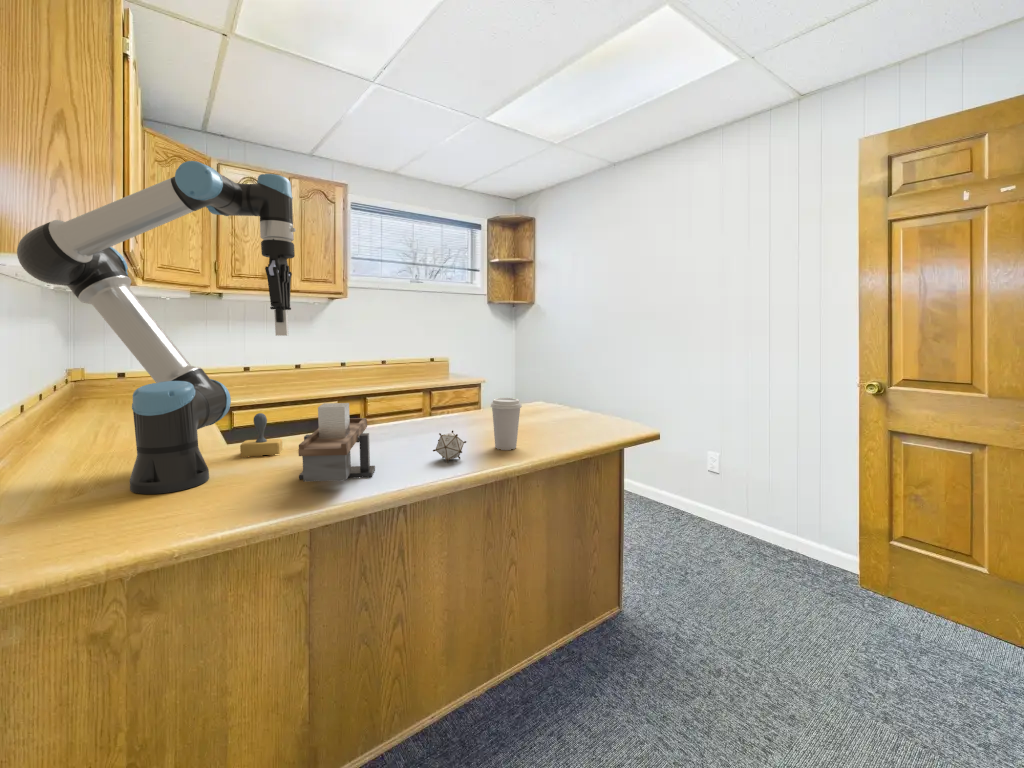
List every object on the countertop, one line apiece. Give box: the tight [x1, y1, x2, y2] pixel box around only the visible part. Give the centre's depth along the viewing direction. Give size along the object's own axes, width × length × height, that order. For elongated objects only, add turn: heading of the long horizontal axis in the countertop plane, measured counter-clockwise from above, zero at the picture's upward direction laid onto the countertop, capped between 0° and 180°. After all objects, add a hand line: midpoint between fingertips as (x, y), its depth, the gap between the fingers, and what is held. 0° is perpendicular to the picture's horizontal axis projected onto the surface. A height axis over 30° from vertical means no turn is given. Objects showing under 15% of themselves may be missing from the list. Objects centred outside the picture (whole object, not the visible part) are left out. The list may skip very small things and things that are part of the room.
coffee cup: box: [490, 397, 523, 451], centre depth 148 cm, size 10×10×15 cm
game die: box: [432, 429, 468, 464], centre depth 135 cm, size 9×8×10 cm
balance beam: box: [297, 417, 368, 483], centre depth 120 cm, size 30×10×8 cm, turn 8°
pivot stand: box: [298, 432, 376, 480], centre depth 120 cm, size 6×17×10 cm, turn 98°
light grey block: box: [317, 402, 350, 439], centre depth 117 cm, size 6×6×8 cm
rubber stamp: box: [239, 412, 284, 458], centre depth 139 cm, size 10×6×12 cm, turn 106°
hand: (282, 335), depth 124 cm, fingers closed
